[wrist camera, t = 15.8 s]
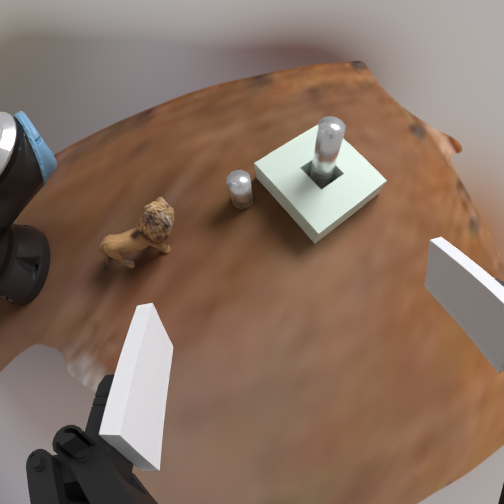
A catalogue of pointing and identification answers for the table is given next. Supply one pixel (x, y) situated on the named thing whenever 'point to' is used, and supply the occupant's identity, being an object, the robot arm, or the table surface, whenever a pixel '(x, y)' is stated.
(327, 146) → the tall peg
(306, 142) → the socket block
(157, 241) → the lion figurine
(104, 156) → the table surface
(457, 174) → the table surface
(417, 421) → the table surface
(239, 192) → the short peg
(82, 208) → the table surface
